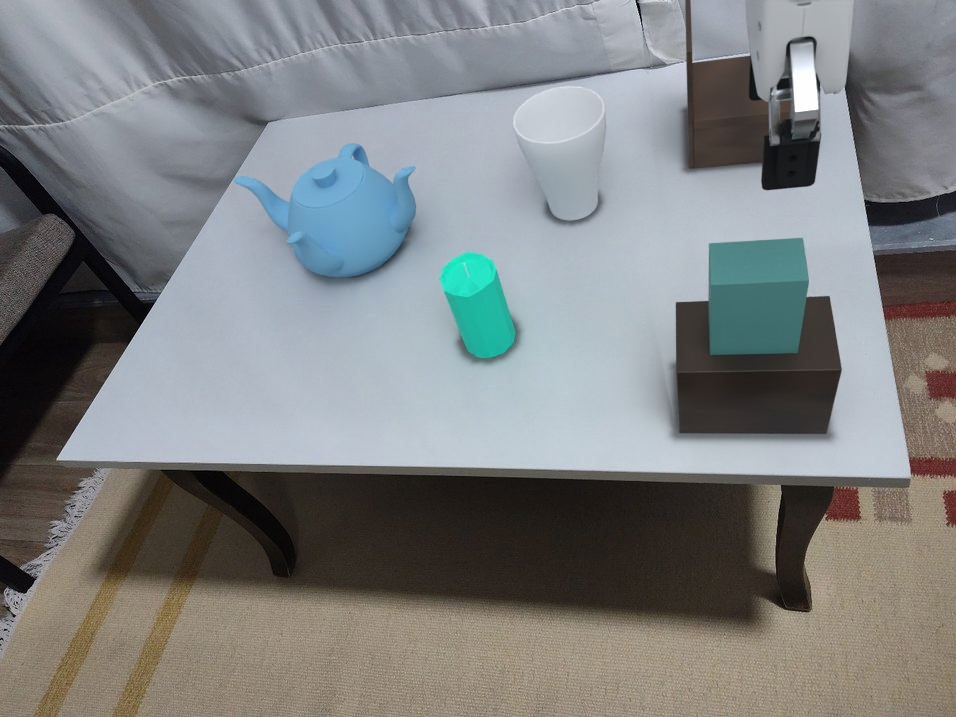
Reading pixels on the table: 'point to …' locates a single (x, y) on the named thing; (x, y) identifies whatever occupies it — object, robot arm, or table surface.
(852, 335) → the table surface
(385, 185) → the teapot
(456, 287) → the candle
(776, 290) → the block
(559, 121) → the cup
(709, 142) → the shelf
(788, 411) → the dark brown box
